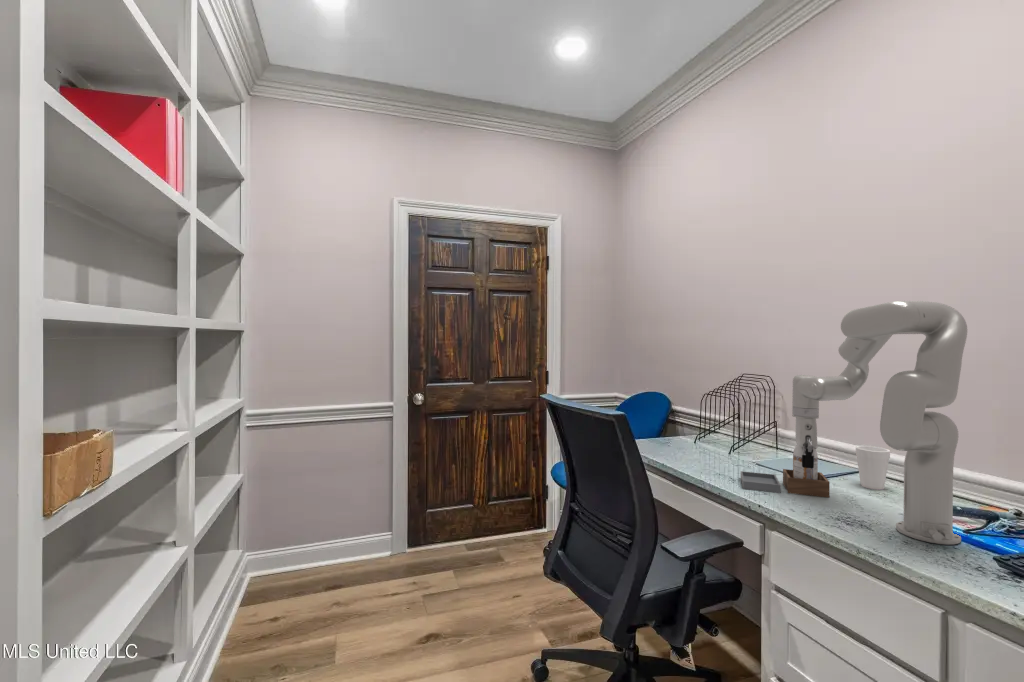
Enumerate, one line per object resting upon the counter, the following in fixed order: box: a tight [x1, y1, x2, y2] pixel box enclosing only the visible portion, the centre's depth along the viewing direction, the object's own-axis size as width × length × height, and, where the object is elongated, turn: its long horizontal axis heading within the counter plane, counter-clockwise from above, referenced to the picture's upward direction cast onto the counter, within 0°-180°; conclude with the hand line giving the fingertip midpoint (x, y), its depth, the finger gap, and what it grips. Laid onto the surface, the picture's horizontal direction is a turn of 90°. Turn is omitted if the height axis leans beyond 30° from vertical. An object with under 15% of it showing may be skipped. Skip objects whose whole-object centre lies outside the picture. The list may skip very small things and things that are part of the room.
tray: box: [740, 470, 782, 494], centre depth 163 cm, size 13×11×3 cm
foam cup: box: [855, 445, 891, 491], centre depth 162 cm, size 10×9×13 cm
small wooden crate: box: [782, 468, 831, 498], centre depth 158 cm, size 11×11×5 cm
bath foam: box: [792, 438, 819, 480], centre depth 158 cm, size 7×7×20 cm
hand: (804, 463), depth 158 cm, fingers open, 9 cm apart
